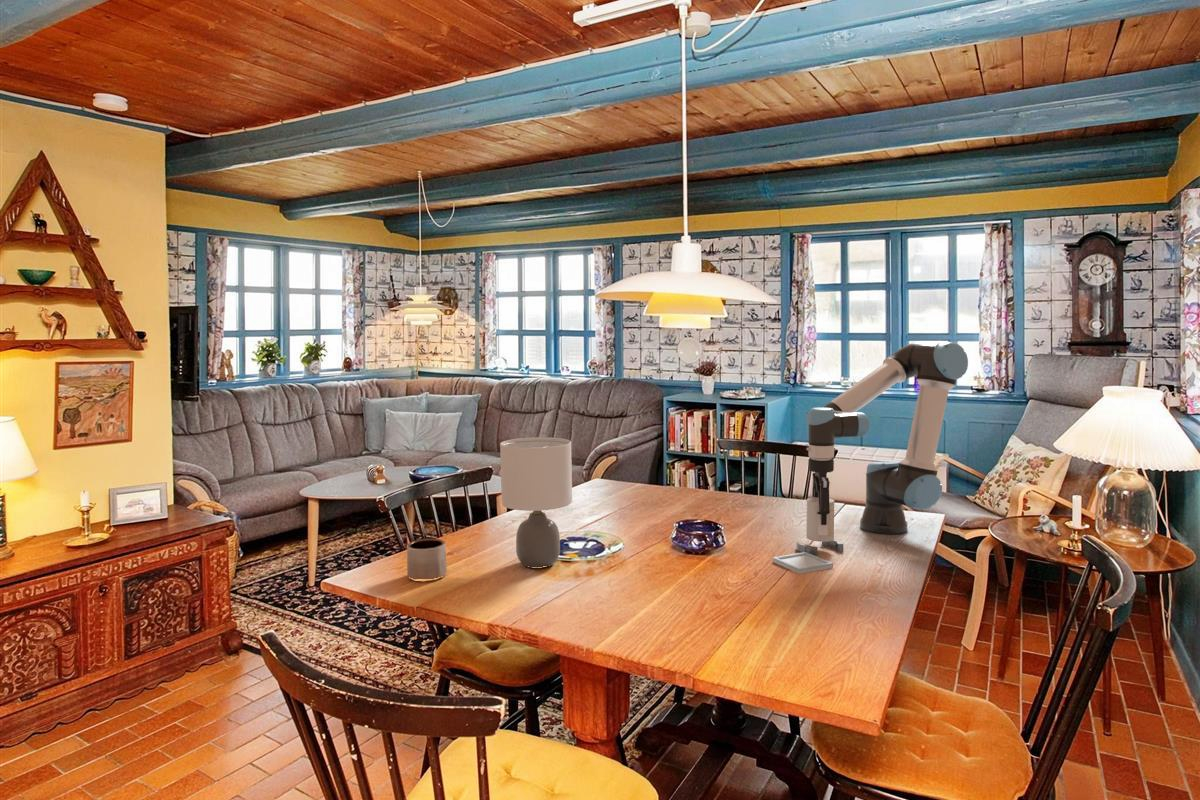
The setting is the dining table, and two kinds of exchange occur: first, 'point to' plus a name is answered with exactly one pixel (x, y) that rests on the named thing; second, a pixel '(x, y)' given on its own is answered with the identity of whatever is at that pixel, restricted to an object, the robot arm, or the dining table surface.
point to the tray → (802, 562)
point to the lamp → (536, 493)
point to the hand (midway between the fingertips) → (820, 530)
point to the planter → (426, 559)
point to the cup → (813, 521)
